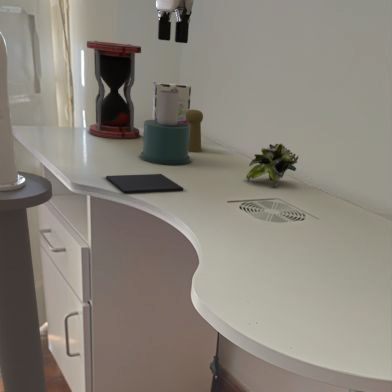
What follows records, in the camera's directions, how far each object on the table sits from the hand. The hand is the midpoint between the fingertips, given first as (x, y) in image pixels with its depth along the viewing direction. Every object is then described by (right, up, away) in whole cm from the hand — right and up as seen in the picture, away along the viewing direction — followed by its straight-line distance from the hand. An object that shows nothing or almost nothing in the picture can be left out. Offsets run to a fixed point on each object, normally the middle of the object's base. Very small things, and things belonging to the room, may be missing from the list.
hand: (172, 41), depth 115 cm
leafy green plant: (+25, -34, +4) cm, 42 cm away
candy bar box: (-3, -8, +37) cm, 38 cm away
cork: (+4, -14, +29) cm, 33 cm away
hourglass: (-21, -5, +39) cm, 44 cm away
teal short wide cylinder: (-3, -23, +15) cm, 28 cm away
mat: (-6, -38, -8) cm, 39 cm away
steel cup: (-2, -15, +10) cm, 19 cm away
